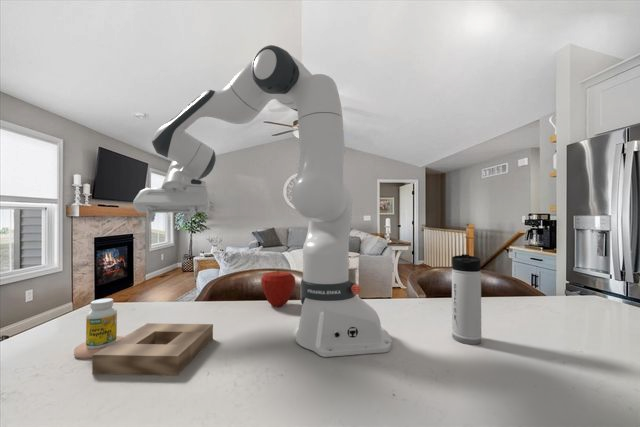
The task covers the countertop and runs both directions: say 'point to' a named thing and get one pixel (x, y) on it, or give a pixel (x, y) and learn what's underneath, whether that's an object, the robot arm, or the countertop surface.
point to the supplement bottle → (101, 324)
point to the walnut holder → (153, 350)
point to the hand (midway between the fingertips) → (168, 219)
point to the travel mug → (466, 299)
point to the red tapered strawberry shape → (278, 287)
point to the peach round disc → (87, 351)
